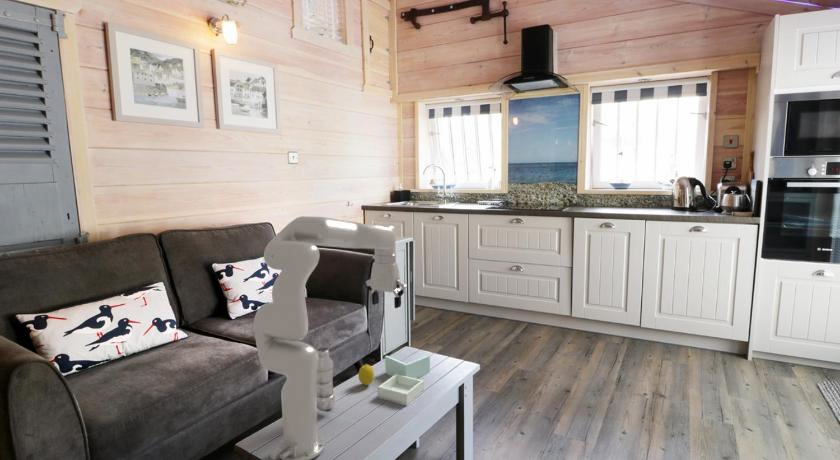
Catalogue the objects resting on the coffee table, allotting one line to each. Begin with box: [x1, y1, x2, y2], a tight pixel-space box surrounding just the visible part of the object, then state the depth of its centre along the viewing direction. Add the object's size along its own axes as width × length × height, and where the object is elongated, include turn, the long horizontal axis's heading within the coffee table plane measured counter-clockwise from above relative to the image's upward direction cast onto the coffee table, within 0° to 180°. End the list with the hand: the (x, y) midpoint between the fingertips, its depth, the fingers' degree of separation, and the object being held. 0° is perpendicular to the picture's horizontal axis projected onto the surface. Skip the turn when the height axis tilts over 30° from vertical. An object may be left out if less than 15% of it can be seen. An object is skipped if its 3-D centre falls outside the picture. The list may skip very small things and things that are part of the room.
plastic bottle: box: [316, 347, 336, 411], centre depth 147 cm, size 6×7×20 cm
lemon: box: [358, 363, 375, 386], centre depth 164 cm, size 6×6×8 cm
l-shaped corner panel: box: [384, 355, 431, 379], centre depth 172 cm, size 12×12×8 cm
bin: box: [377, 374, 425, 407], centre depth 157 cm, size 12×12×4 cm
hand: (386, 305), depth 165 cm, fingers open, 9 cm apart
